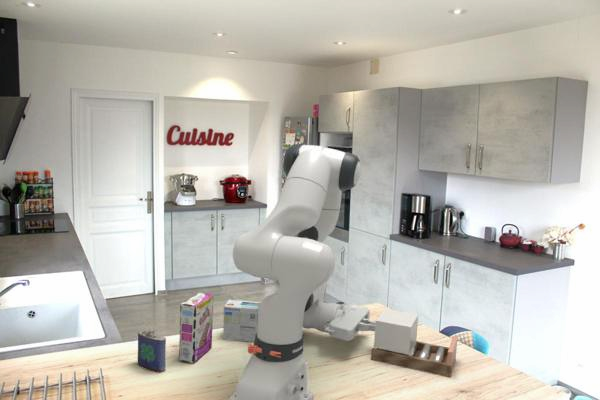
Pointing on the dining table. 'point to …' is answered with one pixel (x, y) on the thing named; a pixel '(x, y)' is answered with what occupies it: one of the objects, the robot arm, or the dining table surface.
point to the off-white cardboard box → (396, 331)
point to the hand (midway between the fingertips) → (376, 327)
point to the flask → (151, 351)
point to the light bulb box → (240, 320)
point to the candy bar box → (195, 327)
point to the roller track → (413, 359)
